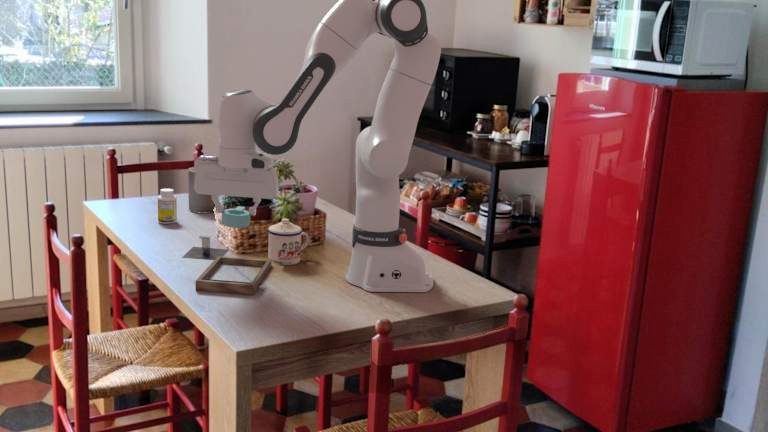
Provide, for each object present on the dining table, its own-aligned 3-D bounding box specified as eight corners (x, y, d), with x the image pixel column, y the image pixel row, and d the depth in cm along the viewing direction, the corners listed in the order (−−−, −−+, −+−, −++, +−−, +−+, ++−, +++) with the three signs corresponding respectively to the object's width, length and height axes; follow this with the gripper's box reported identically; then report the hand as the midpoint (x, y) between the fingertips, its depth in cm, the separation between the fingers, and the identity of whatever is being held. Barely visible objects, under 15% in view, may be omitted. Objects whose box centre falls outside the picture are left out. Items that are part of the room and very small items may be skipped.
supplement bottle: (166, 218, 253) (166, 186, 251) (180, 221, 251) (180, 189, 248) (154, 222, 248) (153, 189, 246) (167, 225, 246) (167, 192, 243)
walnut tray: (271, 269, 211) (271, 260, 211) (253, 295, 192) (253, 285, 192) (218, 265, 212) (218, 256, 212) (195, 290, 193) (195, 280, 192)
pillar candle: (221, 207, 271) (220, 162, 268) (215, 214, 262) (215, 168, 258) (191, 205, 271) (191, 161, 267) (185, 212, 262) (184, 167, 258)
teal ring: (246, 228, 196) (247, 216, 195) (219, 225, 196) (220, 213, 195) (253, 219, 205) (254, 208, 204) (227, 216, 205) (228, 205, 204)
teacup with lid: (278, 268, 213) (279, 225, 210) (261, 258, 220) (261, 217, 217) (316, 261, 220) (318, 220, 217) (298, 252, 227) (300, 212, 224)
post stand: (229, 253, 223) (229, 233, 221) (219, 264, 213) (219, 243, 212) (193, 250, 223) (193, 230, 222) (181, 261, 214) (181, 240, 212)
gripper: (190, 157, 192) (190, 213, 196) (275, 163, 191) (274, 219, 194) (198, 152, 198) (198, 207, 202) (280, 158, 197) (279, 213, 201)
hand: (236, 213), depth 198 cm, fingers closed on teal ring, 7 cm apart
